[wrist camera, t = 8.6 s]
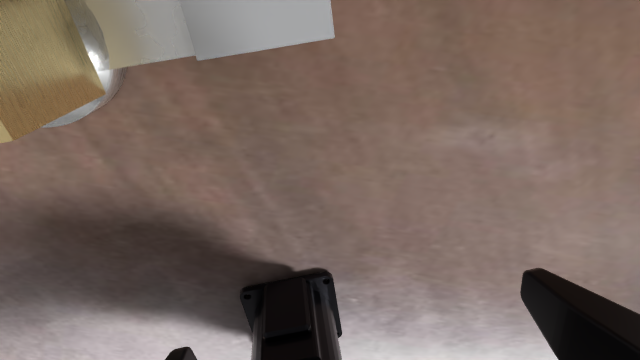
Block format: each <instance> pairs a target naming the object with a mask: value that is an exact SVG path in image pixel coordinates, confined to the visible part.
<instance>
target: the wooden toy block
mask: <svg viewBox="0 0 640 360" xmlns="http://www.w3.org/2000/svg"><path fill="white" fill-rule="evenodd" d="M105 94H106V92H105V90H104V88H103V85H102V83H101V81H100V79H99V76H98V74H97V72H96V70H95V68H94V65H93V63H92V61H91V59H90V56H89V54H88V52H87V50H86V47H85V45H84V43H83V41H82V38H81V36H80V34H79V32H78V29H77V27H76V25H75V23H74V20H73V18H72V16H71V14H70V11H69V9H68V7H67V5H66V3H65V0H0V143H4V142H9V141H14V140H16V139H18V138H20V137H22V136H24V135H26V134H28V133H30V132H32V131H34V130H36V129H38V128H40V127H42V126H44V125H46V124H48V123H50V122H52V121H54V120H56V119H58V118H60V117H62V116H64V115H66V114H68V113H70V112H72V111H74V110H76V109H78V108H80V107H82V106H84V105H86V104H88V103H89V102H91V101H93V100H95V99H97V98H99V97H101V96H103V95H105Z"/></svg>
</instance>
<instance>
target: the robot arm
mask: <svg viewBox="0 0 640 360" xmlns="http://www.w3.org/2000/svg"><path fill="white" fill-rule="evenodd" d="M324 279H328V280H324ZM520 293H521V298H522V301H523V302H524V304H525V306H526V308H527V309H528V311H529V312H530V314H531V316H532V317H533V319H534V321H535V322H536V324H537V326H538V327H539V329H540V331H541V332H542V334H543V336H544V337H545V339H546V341H547V342H548V344H549V346H550V347H551V349H552V350H553V352H554V354H555V355H556V357H557V358H558V360H640V314H638V313H636V312H634V311H632V310H630V309H628V308H625V307H623V306H621V305H619V304H617V303H615V302H613V301H611V300H608V299H606V298H604V297H602V296H600V295H598V294H596V293H594V292H591V291H589V290H587V289H585V288H583V287H581V286H579V285H576V284H574V283H572V282H570V281H568V280H566V279H564V278H562V277H559V276H557V275H555V274H553V273H551V272H549V271H547V270H545V269H542V268H535V269H530V270H526V271H525V272H524V273H523V277H522V284H521V291H520ZM246 294H249V295H246ZM240 299H241V302H242V305H243V308H244V310H245V313H246V316H247V319H248V322H249V325H250V327H251V330H252V333H253V343H252V357H251V360H342V357H341V352H340V346H339V341H338V338H339V337H341V335H342V330H341V324H340V318H339V312H338V306H337V300H336V294H335V288H334V282H333V277H332V274H331V273H329V272H323V273H318V274H313V275H307V276H302V277H297V278H292V279H287V280H281V281H276V282H271V283H266V284H261V285H255V286H250V287H246V288H243V289H242V290H241V293H240ZM165 360H197V359H196V357H195V355H194V353H193V351H192V350H191V348H190V347H182V348H178V349H174V350H173V351H172V352H171V353H170V354H169V355H168V356H167V358H166V359H165Z"/></svg>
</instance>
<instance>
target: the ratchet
mask: <svg viewBox="0 0 640 360" xmlns="http://www.w3.org/2000/svg"><path fill="white" fill-rule="evenodd" d="M65 3H66V5H67V7H68V9H69V11H70V14H71V16H72V18H73V20H74V23H75V25H76V27H77V29H78V32H79V34H80V36H81V38H82V41H83V43H84V45H85V47H86V50H87V52H88V54H89V56H90V59H91V61H92V63H93V65H94V68H95V70H96V72H97V74H98V76H99V79H100V81H101V83H102V85H103V88H104V90H105V92H106V94H105V95H103V96H101V97H99V98H97V99H95V100H93V101H91V102H89V103H88V104H86V105H84V106H82V107H80V108H78V109H76V110H74V111H72V112H70V113H68V114H66V115H64V116H62V117H60V118H58V119H56V120H54V121H52V122H50V123H48V124H46V125H44V126H42V127H57V126H62V125H66V124H70V123H72V122H75V121H77V120H79V119H81V118H83V117H84V116H86V115H88V114H90V113H92V112H93V111H95V110H97V109H99V108H100V107H102V106H104V105H105V104H107V103H108V102H109V101H110V100H111V99H112V98H113V97H114V96H115V95H116V94H117V92H118V91H119V89H120V87H121V86H122V83H123V81H124V78H125V74H126V70H127V67H128V66H134V65H140V64H146V63H152V62H158V61H164V60H170V59H176V58H182V57H188V56H194V55H196V58H197V61H200V60H206V59H212V58H218V57H224V56H230V55H236V54H242V53H248V52H254V51H260V50H265V49H271V48H277V47H283V46H289V45H295V44H301V43H307V42H313V41H319V40H325V39H331V38H335V37H334V28H333V19H332V10H331V2H330V0H65Z"/></svg>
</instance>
